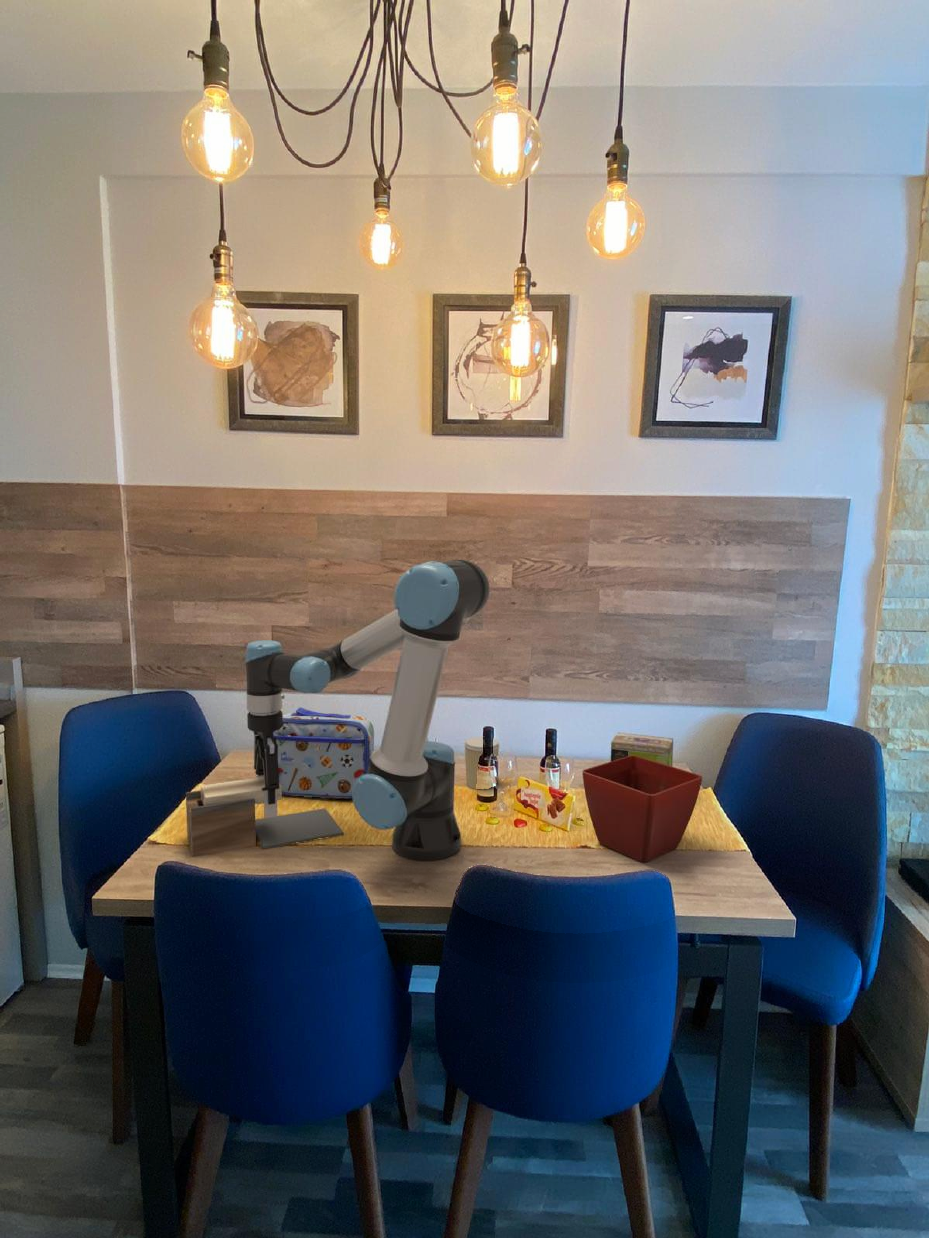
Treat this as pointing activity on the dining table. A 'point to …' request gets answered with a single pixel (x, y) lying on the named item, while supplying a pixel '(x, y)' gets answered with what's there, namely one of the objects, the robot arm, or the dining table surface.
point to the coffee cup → (475, 758)
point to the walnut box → (219, 825)
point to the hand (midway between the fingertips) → (266, 809)
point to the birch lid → (235, 791)
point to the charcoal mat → (296, 828)
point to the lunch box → (322, 753)
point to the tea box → (642, 747)
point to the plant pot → (640, 805)
